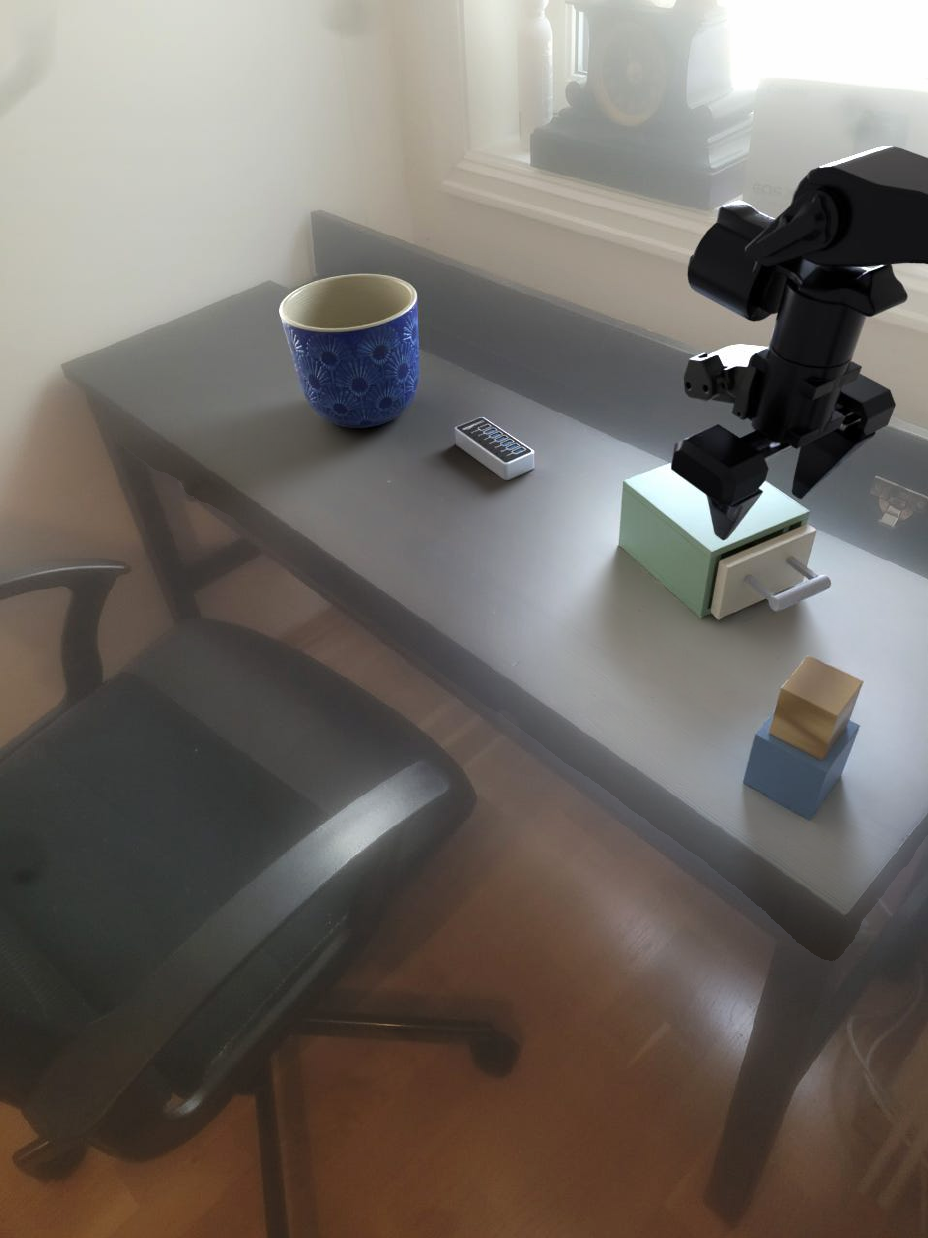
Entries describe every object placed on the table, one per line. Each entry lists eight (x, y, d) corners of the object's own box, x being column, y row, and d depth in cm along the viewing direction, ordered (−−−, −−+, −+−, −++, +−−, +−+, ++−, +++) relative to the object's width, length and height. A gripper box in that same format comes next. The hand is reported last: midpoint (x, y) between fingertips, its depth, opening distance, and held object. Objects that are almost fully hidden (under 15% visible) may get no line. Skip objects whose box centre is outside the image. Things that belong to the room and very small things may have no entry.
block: (847, 726, 65) (864, 680, 61) (821, 761, 62) (838, 716, 59) (794, 700, 67) (807, 654, 63) (768, 733, 65) (780, 687, 61)
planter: (361, 459, 108) (341, 343, 97) (277, 417, 117) (251, 307, 106) (454, 404, 116) (445, 292, 106) (369, 369, 125) (353, 263, 115)
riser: (841, 774, 69) (860, 725, 65) (809, 820, 66) (826, 772, 62) (776, 739, 72) (790, 690, 68) (742, 782, 69) (754, 734, 65)
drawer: (839, 609, 81) (855, 557, 77) (752, 649, 78) (764, 597, 74) (718, 517, 93) (727, 467, 88) (639, 549, 90) (643, 499, 85)
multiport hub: (506, 481, 102) (505, 464, 100) (454, 443, 109) (453, 427, 107) (535, 467, 104) (535, 451, 102) (483, 431, 111) (482, 415, 109)
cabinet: (793, 577, 86) (810, 511, 81) (700, 618, 83) (711, 552, 77) (705, 509, 95) (715, 446, 90) (618, 544, 92) (622, 480, 86)
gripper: (811, 269, 69) (765, 433, 81) (635, 338, 62) (612, 506, 74) (931, 326, 63) (862, 494, 74) (751, 409, 56) (705, 581, 67)
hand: (759, 516), depth 73 cm, fingers open, 9 cm apart
